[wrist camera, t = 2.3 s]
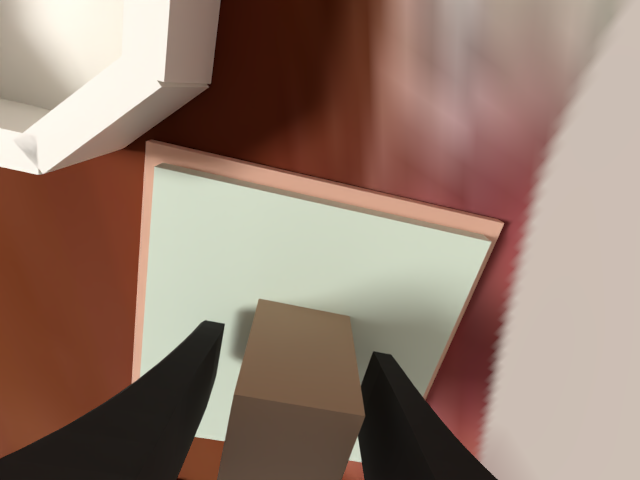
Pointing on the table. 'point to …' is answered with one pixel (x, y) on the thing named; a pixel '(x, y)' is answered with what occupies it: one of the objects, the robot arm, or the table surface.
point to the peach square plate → (303, 185)
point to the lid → (296, 311)
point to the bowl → (96, 74)
